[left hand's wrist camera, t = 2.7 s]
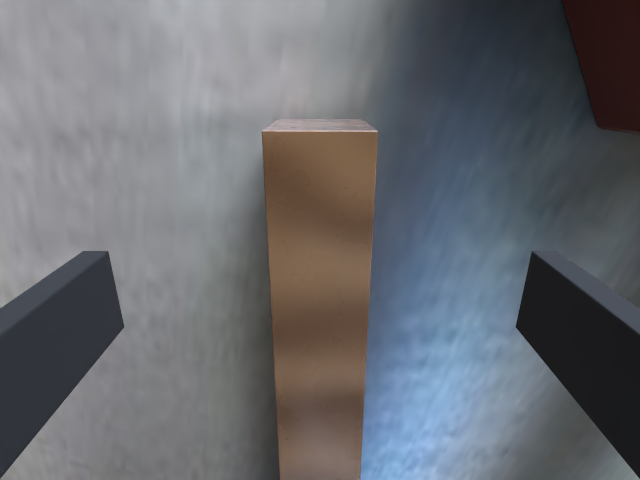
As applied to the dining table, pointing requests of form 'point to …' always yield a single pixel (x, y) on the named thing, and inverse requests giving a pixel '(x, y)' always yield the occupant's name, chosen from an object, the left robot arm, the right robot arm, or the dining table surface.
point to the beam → (320, 289)
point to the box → (609, 58)
